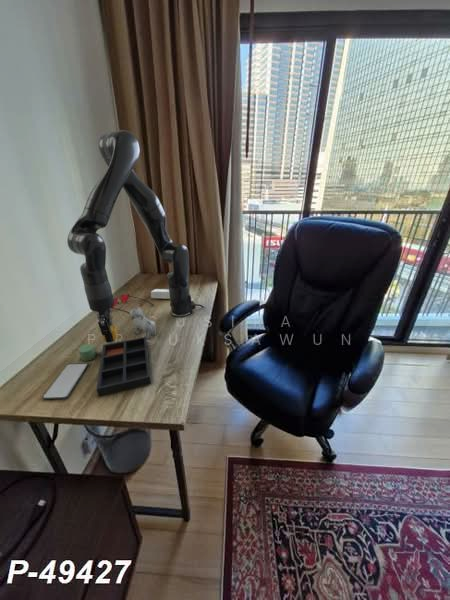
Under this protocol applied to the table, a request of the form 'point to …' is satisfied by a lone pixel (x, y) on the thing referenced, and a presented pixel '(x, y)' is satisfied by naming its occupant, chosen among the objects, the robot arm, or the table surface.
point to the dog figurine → (142, 322)
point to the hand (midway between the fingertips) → (110, 336)
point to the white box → (160, 293)
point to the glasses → (124, 298)
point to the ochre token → (114, 333)
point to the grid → (123, 366)
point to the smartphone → (65, 381)
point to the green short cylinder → (87, 352)
